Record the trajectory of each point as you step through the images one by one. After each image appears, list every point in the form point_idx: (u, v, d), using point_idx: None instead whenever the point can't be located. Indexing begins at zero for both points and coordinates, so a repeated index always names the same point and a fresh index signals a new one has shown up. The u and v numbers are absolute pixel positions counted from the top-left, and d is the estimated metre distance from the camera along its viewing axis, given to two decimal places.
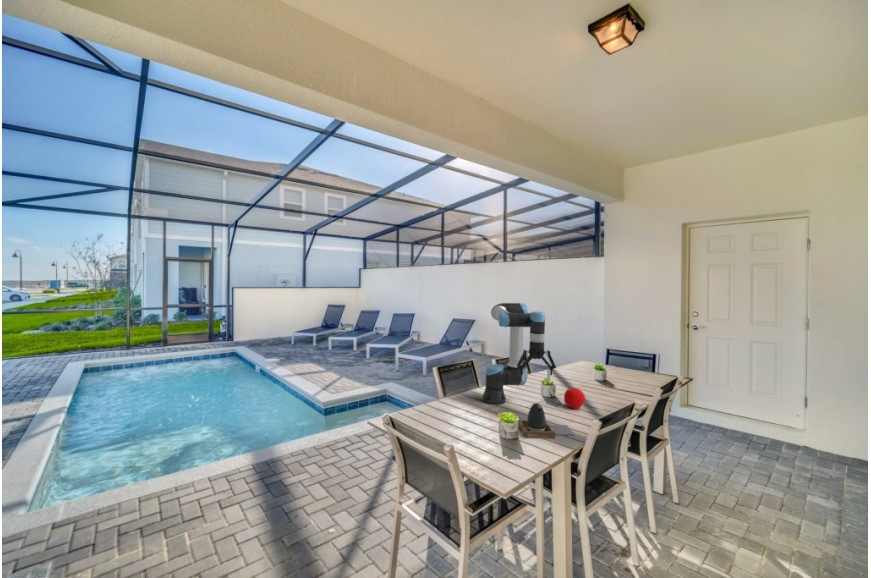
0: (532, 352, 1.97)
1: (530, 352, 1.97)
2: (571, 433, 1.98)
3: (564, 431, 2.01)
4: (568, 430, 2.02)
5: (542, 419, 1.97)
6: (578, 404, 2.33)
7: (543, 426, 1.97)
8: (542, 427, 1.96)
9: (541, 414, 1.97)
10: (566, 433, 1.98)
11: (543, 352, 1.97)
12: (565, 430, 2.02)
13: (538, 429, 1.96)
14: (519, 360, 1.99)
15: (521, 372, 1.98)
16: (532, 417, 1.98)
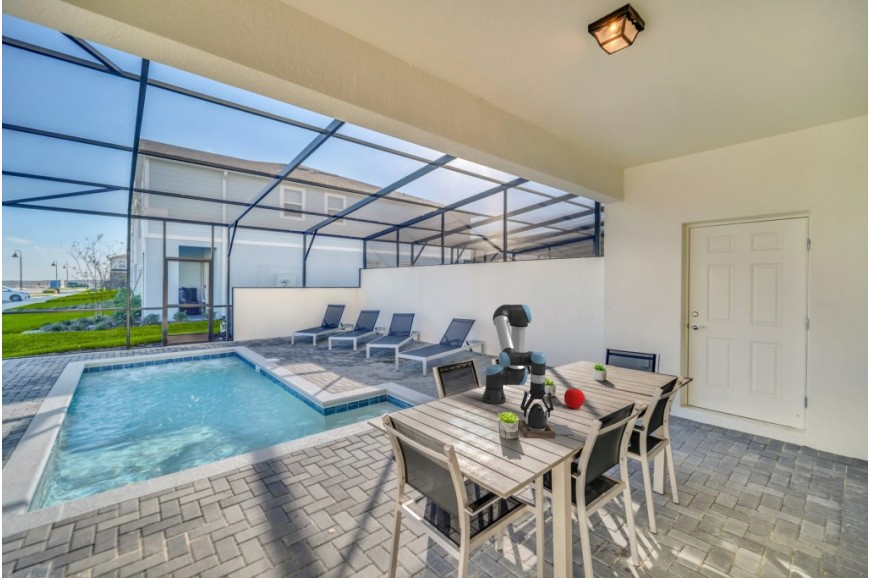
0: (533, 392, 1.99)
1: (531, 393, 1.99)
2: (571, 433, 1.98)
3: (564, 431, 2.01)
4: (568, 430, 2.02)
5: (542, 419, 1.97)
6: (578, 404, 2.33)
7: (543, 426, 1.97)
8: (542, 427, 1.96)
9: (541, 414, 1.97)
10: (566, 433, 1.98)
11: (544, 393, 1.99)
12: (565, 430, 2.02)
13: (538, 429, 1.96)
14: (522, 402, 2.01)
15: (525, 414, 2.00)
16: (532, 417, 1.98)
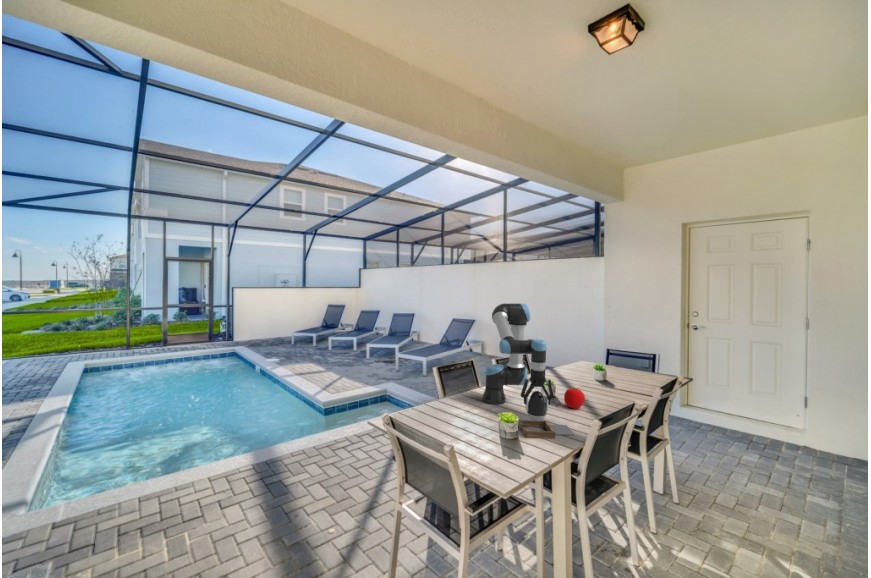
0: (533, 380, 1.99)
1: (531, 380, 1.99)
2: (571, 433, 1.98)
3: (564, 431, 2.01)
4: (568, 430, 2.02)
5: (542, 406, 1.97)
6: (578, 404, 2.33)
7: (543, 413, 1.97)
8: (542, 414, 1.96)
9: (541, 401, 1.97)
10: (566, 433, 1.98)
11: (544, 380, 1.99)
12: (565, 430, 2.02)
13: (538, 416, 1.96)
14: (522, 389, 2.01)
15: (525, 402, 2.00)
16: (533, 404, 1.98)
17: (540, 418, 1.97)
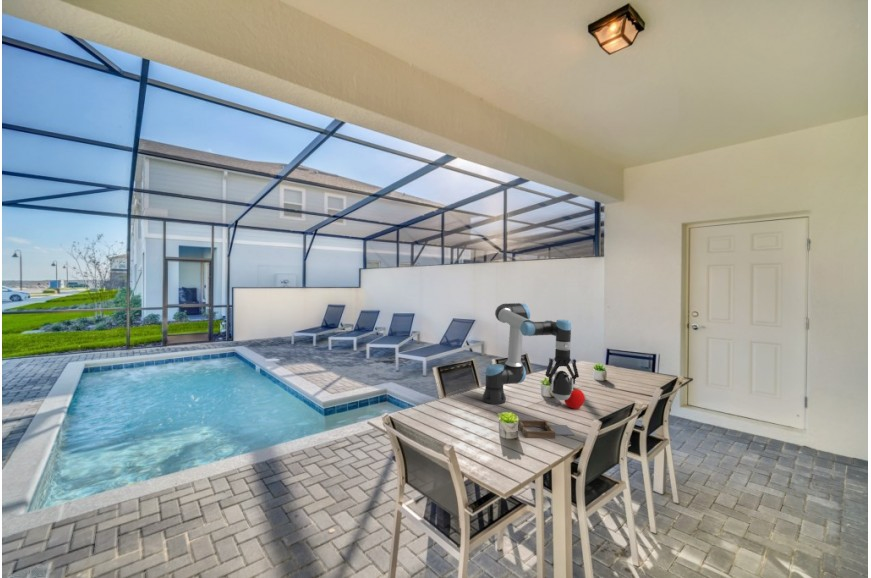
0: (558, 359, 2.00)
1: (556, 360, 2.00)
2: (571, 433, 1.98)
3: (564, 431, 2.01)
4: (568, 430, 2.02)
5: (568, 385, 1.98)
6: (578, 404, 2.33)
7: (569, 392, 1.98)
8: (568, 393, 1.98)
9: (567, 380, 1.98)
10: (566, 433, 1.98)
11: (569, 360, 2.00)
12: (565, 430, 2.02)
13: (564, 395, 1.98)
14: (547, 369, 2.02)
15: (550, 381, 2.01)
16: (558, 384, 1.99)
17: (565, 397, 1.98)
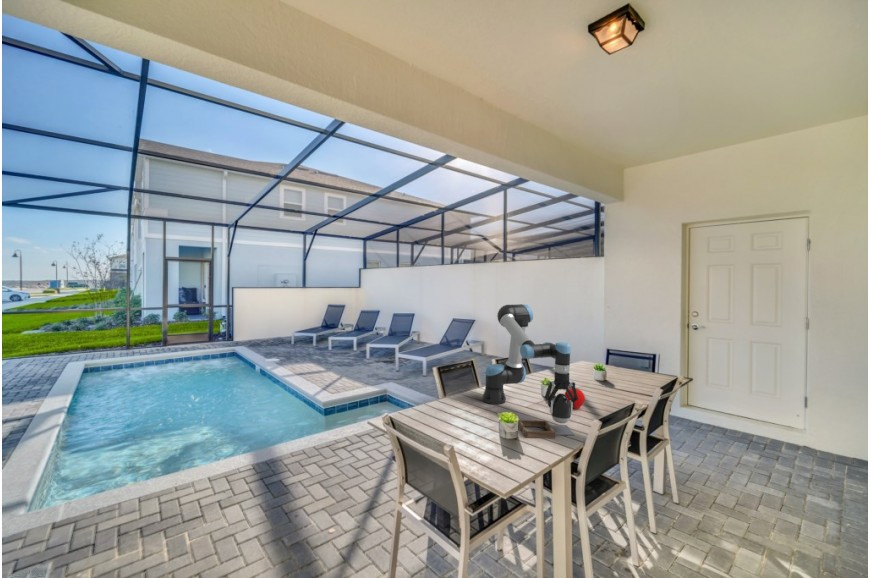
0: (557, 383, 2.01)
1: (555, 383, 2.01)
2: (571, 433, 1.98)
3: (564, 431, 2.01)
4: (568, 430, 2.02)
5: (567, 409, 1.99)
6: (578, 404, 2.33)
7: (568, 416, 1.98)
8: (567, 417, 1.98)
9: (566, 404, 1.99)
10: (566, 433, 1.98)
11: (568, 383, 2.01)
12: (565, 430, 2.02)
13: (563, 419, 1.98)
14: (546, 392, 2.03)
15: (549, 404, 2.02)
16: (557, 407, 1.99)
17: (565, 420, 1.99)
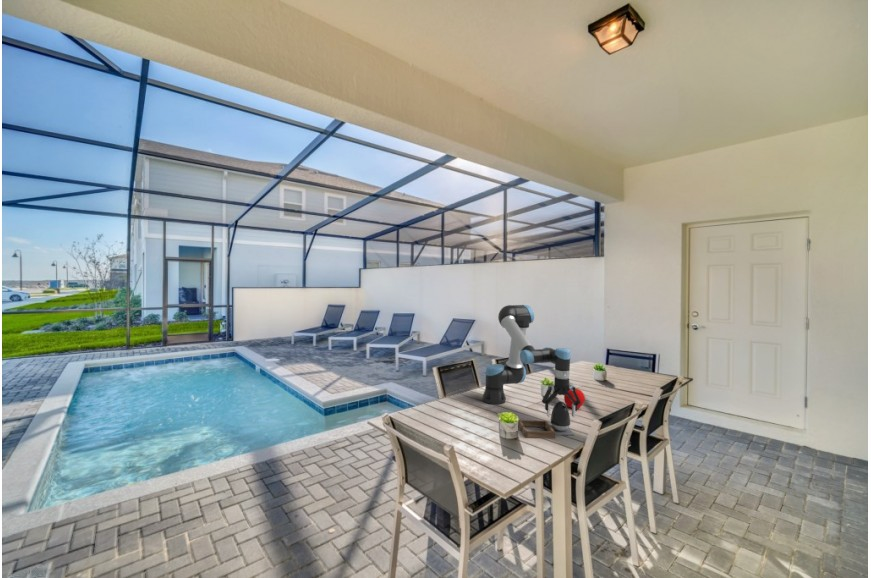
0: (557, 388, 2.01)
1: (555, 388, 2.01)
2: (571, 433, 1.98)
3: (564, 431, 2.01)
4: (568, 430, 2.02)
5: (566, 416, 1.99)
6: (578, 404, 2.33)
7: (568, 423, 1.99)
8: (567, 424, 1.99)
9: (565, 411, 1.99)
10: (566, 433, 1.98)
11: (568, 388, 2.01)
12: (565, 430, 2.02)
13: (563, 426, 1.98)
14: (544, 396, 2.03)
15: (546, 408, 2.02)
16: (557, 415, 2.00)
17: (564, 428, 1.99)
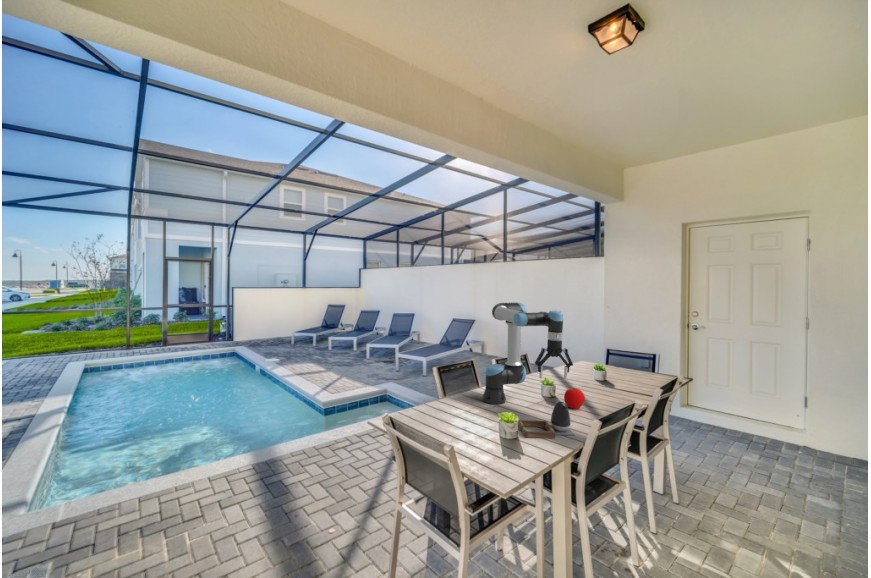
0: (550, 350, 2.03)
1: (548, 350, 2.03)
2: (571, 433, 1.98)
3: (564, 431, 2.01)
4: (568, 430, 2.02)
5: (567, 417, 1.99)
6: (578, 404, 2.33)
7: (568, 424, 1.99)
8: (567, 425, 1.99)
9: (566, 412, 1.99)
10: (566, 433, 1.98)
11: (561, 350, 2.03)
12: None
13: (563, 427, 1.98)
14: (537, 358, 2.05)
15: (539, 369, 2.04)
16: (557, 415, 2.00)
17: (564, 429, 1.99)
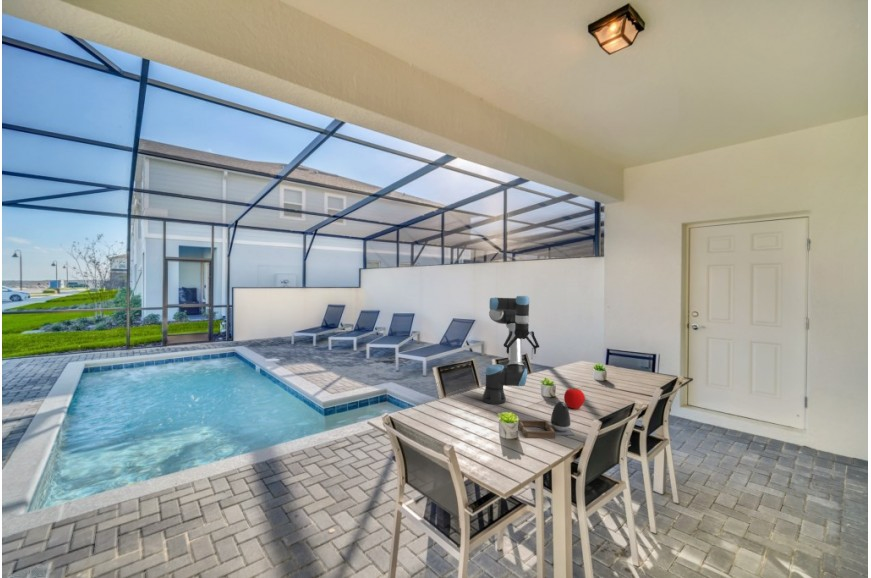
0: (517, 333, 2.16)
1: (515, 333, 2.16)
2: (571, 433, 1.98)
3: (564, 431, 2.01)
4: (568, 430, 2.02)
5: (567, 417, 1.99)
6: (578, 404, 2.33)
7: (568, 424, 1.99)
8: (567, 425, 1.99)
9: (566, 412, 1.99)
10: (566, 433, 1.98)
11: (527, 333, 2.16)
12: None
13: (563, 427, 1.98)
14: (506, 340, 2.18)
15: (507, 351, 2.17)
16: (557, 415, 2.00)
17: (564, 429, 1.99)
